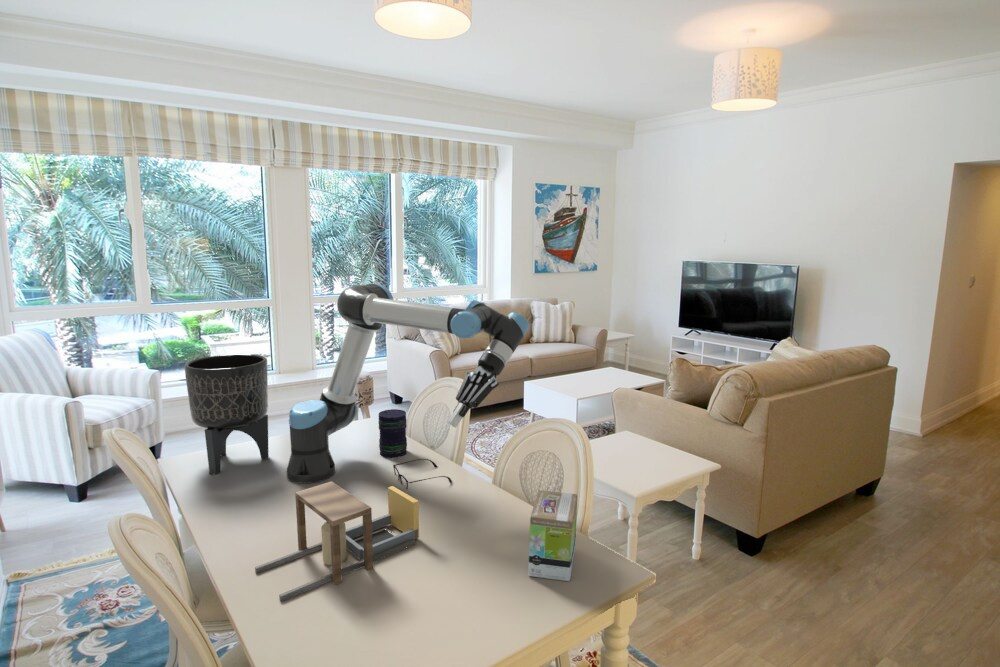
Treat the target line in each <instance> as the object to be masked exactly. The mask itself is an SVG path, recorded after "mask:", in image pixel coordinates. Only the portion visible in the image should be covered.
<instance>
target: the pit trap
mask: <svg viewBox="0 0 1000 667" xmlns="http://www.w3.org/2000/svg"><path fill="white" fill-rule="evenodd" d="M385 529H386V530H385ZM388 531H389V532H390V533H389V532H388ZM391 531H392V530H390V529H388V528H387V527H382V528H380V529H377V530H374V531H372V541H373V544H376V543H378V542H381V541H383V540H386V539H388V538H391V537H393V536H396V535H397V534H396V533H395V532H393V531H392V533H393V534H392V533H391ZM353 540H354V541H355V542H356V543H357V544H359V545H360V546H361V547H362V548H364V543H363V536H359V537H356V538H354V539H353Z"/></svg>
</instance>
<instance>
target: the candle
mask: <svg viewBox="0 0 1000 667" xmlns="http://www.w3.org/2000/svg"><path fill="white" fill-rule="evenodd" d="M339 527H340V551H341V564H343V563H344V562H346V560H347V557H348V554H347V548H346V522H344V523H341V524H339ZM320 530H321V531H320V532H321V542H322V549H321V551H322V561H323V563H324V564H325V565H327V566H332V560H331V538H330V524H329V523H328V522H327V521H325V522H324V523H323V525H322V526H321V529H320Z"/></svg>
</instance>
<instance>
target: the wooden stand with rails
mask: <svg viewBox="0 0 1000 667" xmlns="http://www.w3.org/2000/svg"><path fill="white" fill-rule="evenodd" d="M294 494H295V509H296V510H295V512H296V530H297V548H298V551H294V552H293V553H290V554H287V555H286V554H285V555H284V556H281V557H278V558H276V559H273V560H270V561H268V562H265V563H262V564H261V565H257V566H255V568H254V570H255V573H256V574H259V573H261V572H264V571H267V570H269V569H271V568H274V567H277V566H280V565H283V564H285V563H288V562H291V561H292V560H295V559H299V558H301V557H303V556H307V555H308V554H312V553H314V552H317V551H319V550H322V541H321V542H319V543H317V544H313V545H311V546H308V544H307V543H308V542H307V527H306V526H307V525H306V524H307V523H306V522H307V521H306V508H305V506H306V507H307V508H308V509H310V510H312V512H314V513H315V514H317V515H318V516H319V517H321V518H322V519H323V520H324V521H325V522H328V523H329V524H330V538H331V560H332V565H331V573H328V574H326V575H323V576H321V577H318V578H317V579H314V580H311V581H309V582H306V583H304V584H301V585H299V586H297V587H295V588H294V587H293V588H292V589H290V590H287V591H285V592H283V593H280V594H279V601H280V602H284V601H286V600H288V599H290V598H293V597H296V596H297V595H300V594H302V593H304V592H305V593H306V592H307V591H309V590H312V589H314V588H317V587H319V586H321V585H323V584H326V583H328V582H331V581H332V583H333V584H334V585H335V586H337V585H339V584H341V583H343V581H342V580H343V578H342V577H343V576H344V575H347V574H349V573H351V572H354V571H357V570H359V569H361V568H363V567H364V568H363V569H364V570H366V571H367V572H369V571H371V570H374V563H375V562H378V561H380V560H382V559H384V557H385V558H387V557H389V556H391V554H392V555H394V554H396V552H397V553H399V552H401V551H404V550H405V549H404V548H406V547H408V548H410V547H409V546H411V545H413V546H415V545H416V539H415V540H414V539H412V540H410V541H407V542H405V543H402V544H400V545H398V546H395V547H393V548H390V549H388V550H386V551H383V552H381V553H378V554H376V555H374V556H373V541H372V533H373V531H372V520H373V516H372V512H373V511H372V507H371V506H370V505H368V504H366V503H365V502H363V501H362V500H360V499H359V498H358V497H356V496H355V495H353V494H351V493H350V492H348V491H347V490H346V489H344V488H342V487H341V486H340V485H338V484H336V483H335V482H333V481H329V482H326V483H321V484H318V485H314V486H312V487H309V488H304V489H302V490H299V491H296V492H295V493H294ZM361 517H362V524H363V535H362V537H363V543H364V560H363V559H361V560H359V561H357V562H354V563H352V564H350V565H348V566H345V567H343V568H342V563H341V551H340V527H339V524H341V523H347V522H349V521H352V520H355V519H358V518H361ZM414 544H415V545H414ZM411 547H412V546H411ZM403 549H404V550H403ZM406 549H407V548H406ZM400 550H401V551H400ZM398 551H399V552H398ZM393 553H394V554H393Z"/></svg>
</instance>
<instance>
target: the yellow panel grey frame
mask: <svg viewBox="0 0 1000 667" xmlns="http://www.w3.org/2000/svg"><path fill="white" fill-rule="evenodd" d="M387 499H388V501H387V503H388V504H387V505H388V513H387V514H385V515H382V516H379V517H376V518H374V519H372V532H375V531H377V530H380V529H383V528H385V527H387V526H389V525H391V526H393V527H394V528H396V529H397V530H400V531H401V533H398V534H396V536H393V537H391V538H388V539H386V540H383V541H381V542H378V543H376V544H373V556H374V555H376V554H378V553H381V552H383V551H386V550H388V549H390V548H393V547H395V546H398V545H400V544H402V543H405V542H407V541H410V540H412V539H414V540H415V541H416V540H417V539H419V538H420V523H419V522H420V517H419V514H420V513H419V507H420V506H419V500H418V499H416V498H414V497H413V496H411V495H409V494H407V493H406V492H404V491H402V490H400V489H399V488H397V487H395V486H394V485H392V486H389V487H387ZM362 536H363V523H360V524H358V525H354V526H352V527H349V528H347V529H346V550H348V551H349V552H350V553H351V554H352V555H354V556H355V557H356V558H357V559H359V561H362V560H364V548H362V547H361V546H360V545H359V544H357V543H356V542H355V541H354V540H355V539H357V538H359V537H362Z"/></svg>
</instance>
